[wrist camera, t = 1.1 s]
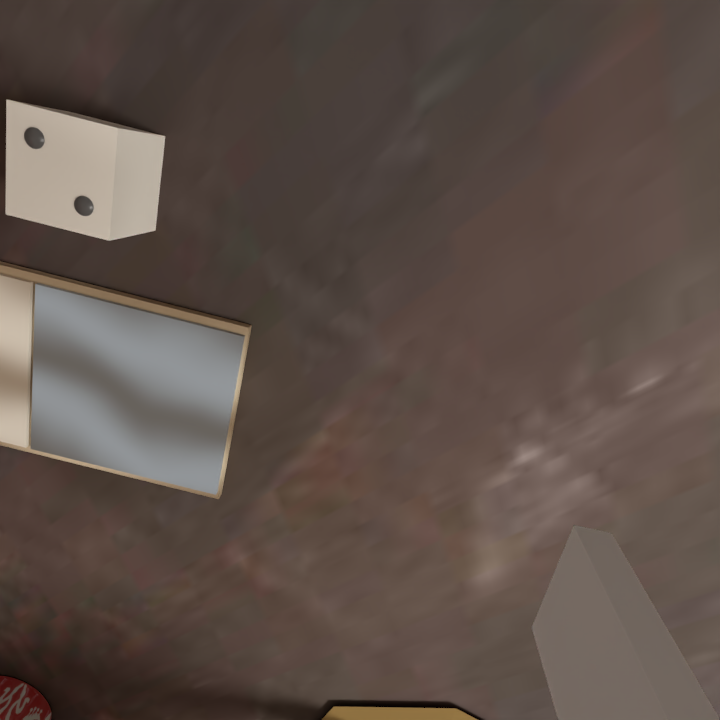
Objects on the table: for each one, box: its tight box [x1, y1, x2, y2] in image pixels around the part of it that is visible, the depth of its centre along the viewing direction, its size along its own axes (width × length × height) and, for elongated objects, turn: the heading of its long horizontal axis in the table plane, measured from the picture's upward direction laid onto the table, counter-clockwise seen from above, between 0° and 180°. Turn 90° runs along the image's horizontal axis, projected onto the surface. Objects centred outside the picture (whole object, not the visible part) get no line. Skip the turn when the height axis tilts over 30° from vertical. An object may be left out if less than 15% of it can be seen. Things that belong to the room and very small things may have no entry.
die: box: [6, 99, 165, 241], centre depth 26 cm, size 5×5×5 cm
